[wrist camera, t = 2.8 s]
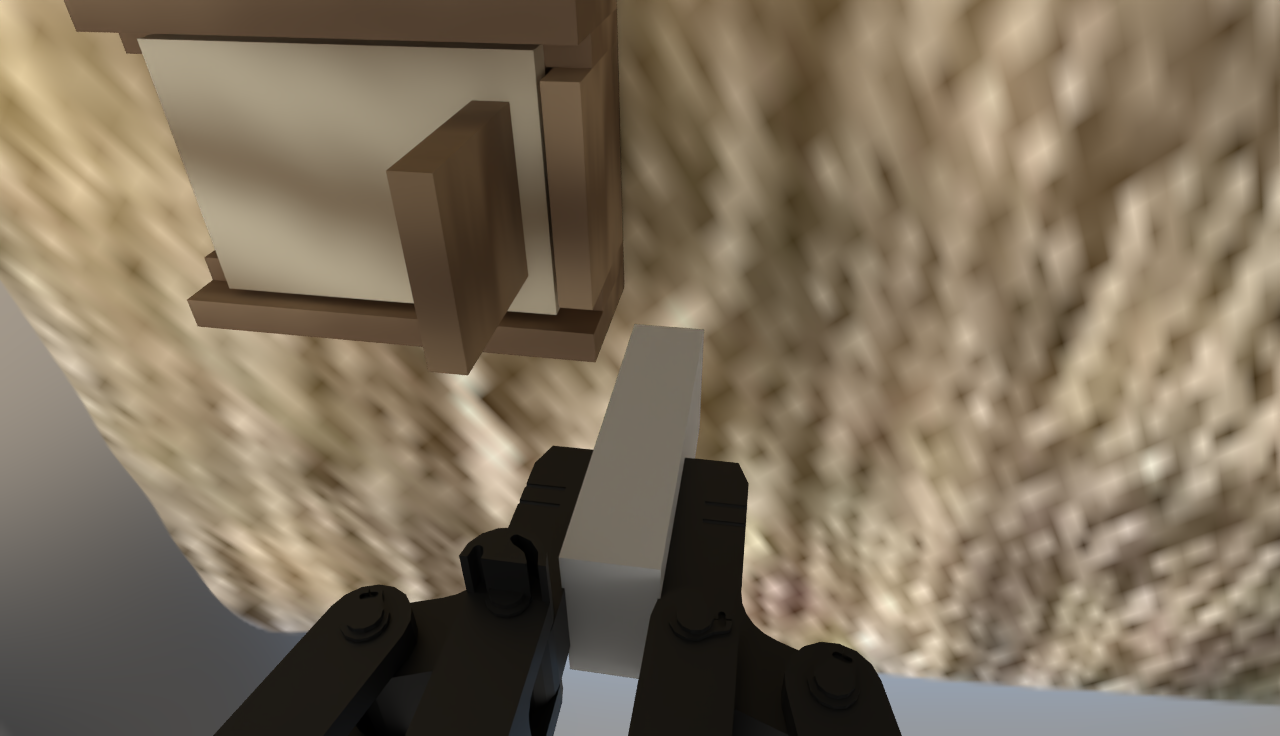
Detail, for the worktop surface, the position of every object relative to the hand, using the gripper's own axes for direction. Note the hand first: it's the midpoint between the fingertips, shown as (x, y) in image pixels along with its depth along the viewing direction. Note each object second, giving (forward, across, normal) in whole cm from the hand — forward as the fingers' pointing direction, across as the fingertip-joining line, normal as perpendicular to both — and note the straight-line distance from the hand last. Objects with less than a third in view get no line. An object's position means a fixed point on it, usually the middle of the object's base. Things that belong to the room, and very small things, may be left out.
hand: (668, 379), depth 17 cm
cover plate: (+10, -12, 0) cm, 15 cm away
